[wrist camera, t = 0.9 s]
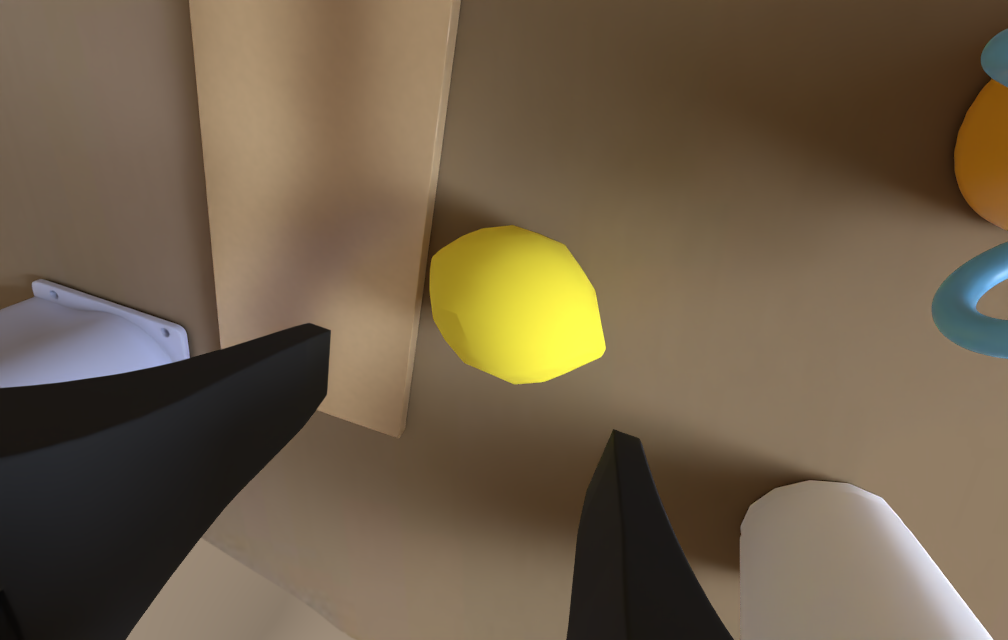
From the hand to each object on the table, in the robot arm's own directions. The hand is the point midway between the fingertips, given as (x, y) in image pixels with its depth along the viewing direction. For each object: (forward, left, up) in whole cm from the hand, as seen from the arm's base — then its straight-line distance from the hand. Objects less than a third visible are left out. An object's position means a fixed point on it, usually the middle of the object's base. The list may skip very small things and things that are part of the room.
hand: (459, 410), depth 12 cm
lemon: (0, 0, -10) cm, 10 cm away
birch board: (-10, 0, -9) cm, 14 cm away
